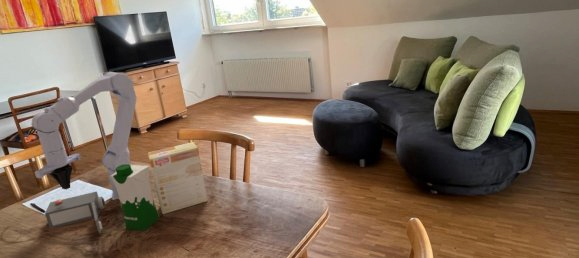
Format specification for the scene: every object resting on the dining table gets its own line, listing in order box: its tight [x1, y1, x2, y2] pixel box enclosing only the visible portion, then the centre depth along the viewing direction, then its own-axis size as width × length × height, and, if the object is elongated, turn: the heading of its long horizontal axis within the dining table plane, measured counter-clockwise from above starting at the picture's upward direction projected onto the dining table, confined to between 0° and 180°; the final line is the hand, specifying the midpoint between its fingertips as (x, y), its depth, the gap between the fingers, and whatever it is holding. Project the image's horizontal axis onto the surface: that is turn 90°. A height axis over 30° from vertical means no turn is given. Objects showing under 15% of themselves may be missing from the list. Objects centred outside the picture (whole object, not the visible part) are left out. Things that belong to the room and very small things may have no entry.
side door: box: [91, 202, 103, 234], centre depth 113 cm, size 13×1×5 cm, turn 31°
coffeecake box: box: [147, 141, 209, 215], centre depth 120 cm, size 15×7×20 cm, turn 115°
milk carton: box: [110, 164, 160, 232], centre depth 110 cm, size 9×9×20 cm
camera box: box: [44, 191, 106, 230], centre depth 120 cm, size 16×8×6 cm, turn 112°
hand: (66, 188), depth 119 cm, fingers closed
